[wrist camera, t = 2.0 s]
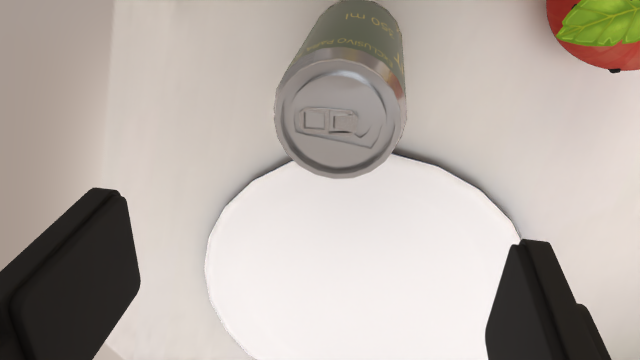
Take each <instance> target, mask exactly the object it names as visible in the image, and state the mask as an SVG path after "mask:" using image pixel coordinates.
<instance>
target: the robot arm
mask: <svg viewBox="0 0 640 360" xmlns="http://www.w3.org/2000/svg"><path fill="white" fill-rule="evenodd" d="M140 282H141V280H140V273H139V268H138V262H137V256H136V251H135V245H134V240H133V234H132V228H131V223H130V217H129V212H128V206H127V201H126V199H125V198H124V197H122V196H121V195H120V193H119V192H118V191H117V190H112V189H103V188H92V189H90V190H89V191H88V192H87V193H86V194H85V195H84V196H82V197H81V198H80V199H79V200H78V201H77V202H76V203H75V204H74V205H73V206H71V207H70V208H69V209H68V210H67V211H66V212H65V213H64V214H63V215H62V216H61V217H60V218H58V220H56V221H55V222H54V223H53V224H52V225H51V226H50V227H49V228H47V229H46V230H45V231H44V232H43V233H42V234H41V235H40V236H39V237H38V238H37V239H35V240H34V241H33V242H32V243H31V244H30V245H29V246H28V247H27V248H26V249H25V250H23V252H21V253H20V254H19V255H18V256H17V257H16V258H15V259H14V260H13V261H11V262H10V263H9V264H8V265H7V266H6V267H5V268H4V269H3V270H2V271H1V272H0V360H92V359H93V358H94V356H95V355H96V353H97V352H98V351H99V349H100V347H101V346H102V345H103V343H104V342H105V340H106V339H107V337H108V336H109V334H110V333H111V331H112V330H113V328H114V327H115V325H116V324H117V323H118V321H119V320H120V318H121V317H122V315H123V314H124V312H125V311H126V309H127V308H128V306H129V305H130V303H131V302H132V300H133V299H134V297H135V296H136V294H137V293H138V291H139V288H140ZM485 344H486V350H487V355H488V360H611V358H610V355H609V353H608V351H607V349H606V347H605V345H604V342H603V340H602V338H601V336H600V334H599V332H598V330H597V327H596V325H595V323H594V321H593V319H592V317H591V315H590V312H589V311H588V309H587V308H586V307H585V306H584V305H582V304H577V303H576V301H575V299H574V296H573V294H572V292H571V289H570V287H569V285H568V283H567V280H566V278H565V276H564V274H563V271H562V269H561V267H560V265H559V262H558V260H557V258H556V256H555V253H554V251H553V249H552V247H551V245H550V243H549V242H544V241H536V240H527V239H522V240H521V241H520V242H519V245H517V244H512V245H511V247H510V249H509V253H508V256H507V259H506V262H505V266H504V269H503V272H502V276H501V279H500V282H499V285H498V289H497V292H496V295H495V299H494V302H493V305H492V308H491V312H490V315H489V318H488V322H487V325H486V329H485Z"/></svg>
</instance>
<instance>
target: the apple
mask: <svg viewBox="0 0 640 360" xmlns="http://www.w3.org/2000/svg"><path fill="white" fill-rule="evenodd" d="M546 9H547V17H548V21H549V25H550V28H551V30H552V32H553V34H554V36H555V37H556V39H557V40H558V42H559V43H560V44H561V45H562V46H563V47H564V48H565V49H566V50H567V51H568V52H569V53H571V54H572V55H573V56H575V57H577V58H578V59H580V60H582V61H584V62H586V63H588V64H591V65H594V66H597V67H600V68H604V69H608V70H609V71H610V72H611V73H619V72H620V71H627V70H639V69H640V0H546Z"/></svg>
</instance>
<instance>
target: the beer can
mask: <svg viewBox="0 0 640 360" xmlns="http://www.w3.org/2000/svg"><path fill="white" fill-rule="evenodd" d="M274 114H275V115H274V121H275V127H276V132H277V137H278V139H279V141H280V143H281V144H282V146H283V148H284V150H285V152H286V153H287V154H288V155H289V156H290V157H291V158H292V159H293V160H294V161H295V162H296V163H297V164H298V165H299V166H300V167H302V168H304V169H306V170H308V171H310V172H311V173H313V174H315V175H319V176H323V177H327V178H332V179H346V178H355V177H358V176H361V175H364V174H366V173H369V172H371V171H373V170H374V169H375V168H377V167H378V166H380V165H381V164H382V163H384V162H385V161H386V160H387V158H388V157H389V156H390V154H391V153H392V151H393V150H394V149H395V147H396V145H397V143H398V141H399V140H400V139H401V137H402V133H403V130H404V127H405V123H406V120H407V110H406V91H405V77H404V63H403V48H402V35H401V32H400V30H399V27H398V25H397V22H396V20H395V19H394V18H393V17H392V16H391V14H390V13H389V12H388V11H387V10H386V9H384V8H383V7H381V6H380V5H378V4H376V3H375V2H372V1H367V0H344V1H341V2H339V3H337V4H335V5H333V6H331V7H330V8H328V9H327V10H326V11H325V12H324V13H323V14H322V15H321V16H320V17H319V19H318V20H317V22H316V24H315V25H314V27H313V28H312V30H311V32H310V33H309V35H308V37H307V38H306V40H305V41H304V43H303V45H302V46H301V48H300V49H299V51H298V53H297V54H296V56H295V58H294V59H293V61H292V62H291V64H290V66H289V67H288V69H287V70H286V72H285V74H284V76H283V78H282V80H281V82H280V84H279V85H278V87H277V89H276V96H275V103H274Z"/></svg>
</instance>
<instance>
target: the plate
mask: <svg viewBox="0 0 640 360" xmlns="http://www.w3.org/2000/svg"><path fill="white" fill-rule="evenodd" d="M520 241H521V239H520V237H519V236H518V234H517V232H516V230H515V228H514V226H513V224H512V222H511V220H510V219H509V218H508V217H507V216H506V215H505V214H504V213H503V212H502V211H501V210H500V209H499V208H498V207H497V206H496V205H495V204H494V203H493V202H492V201H491V200H490V199H489V198H488V197H487V196H486V195H485V194H484V193H483V192H482V191H481V190H480V189H479V188H477V187H475V186H473V185H472V184H470V183H468V182H466V181H465V180H463V179H461V178H459V177H457V176H456V175H454V174H452V173H450V172H448V171H447V170H445V169H443V168H441V167H440V166H438V165H434V164H431V163H427V162H423V161H419V160H416V159H412V158H408V157H405V156H401V155H397V154H394V153H391V154H390V156H389V157H388V158H387V160H386V161H385V162H384V163H382V164H381V165H380V166H378V167H377V168H375V169H374V170H373V171H371V172H369V173H366V174H364V175H361V176H358V177H355V178H346V179H332V178H327V177H323V176H319V175H315V174H313V173H311V172H310V171H308V170H306V169H304V168H302V167H300V166H299V165H298V164H297V163H296V162H295V161H294V160H292V161H290V162H288V163H286V164H284V165H282V166H280V167H278V168H276V169H274V170H272V171H270V172H268V173H266V174H264V175H262V176H260V177H258V178H256V179H254V180H253V181H252V182H251V183H250V184H248V185H247V186H246V187H245V188H244V189H243V190H242V191H241V192H240V193H239V194H238V195H237V196H236V197H235V198H234V199H233V200H232V201H231V202H230V203H228V204H227V205H226V206H225V208H224V210H223V211H222V213H221V215H220V217H219V219H218V221H217V223H216V225H215V227H214V228H213V230H212V232H211V234H210V236H209V238H208V244H207V252H206V259H205V266H204V273H205V278H206V283H207V288H208V294H209V299H210V302H211V304H212V306H213V307H214V309H215V311H216V313H217V315H218V317H219V319H220V321H221V323H222V325H223V326H224V328H225V330H226V331H227V332H228V333H229V334H230V335H231V336H232V337H233V338H234V340H235V341H236V342H237V343H238V344H239V345H240V346H241V347H242V348H243V350H244V351H245V352H246V353H247V354H248V355H250V356H251V357H252V358H254V359H255V360H488V355H487V350H486V344H485V329H486V325H487V322H488V318H489V315H490V312H491V308H492V305H493V302H494V299H495V295H496V292H497V289H498V285H499V282H500V279H501V276H502V272H503V269H504V266H505V262H506V259H507V256H508V253H509V249H510V247H511V245H512V244H517V245H519V242H520Z"/></svg>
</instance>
